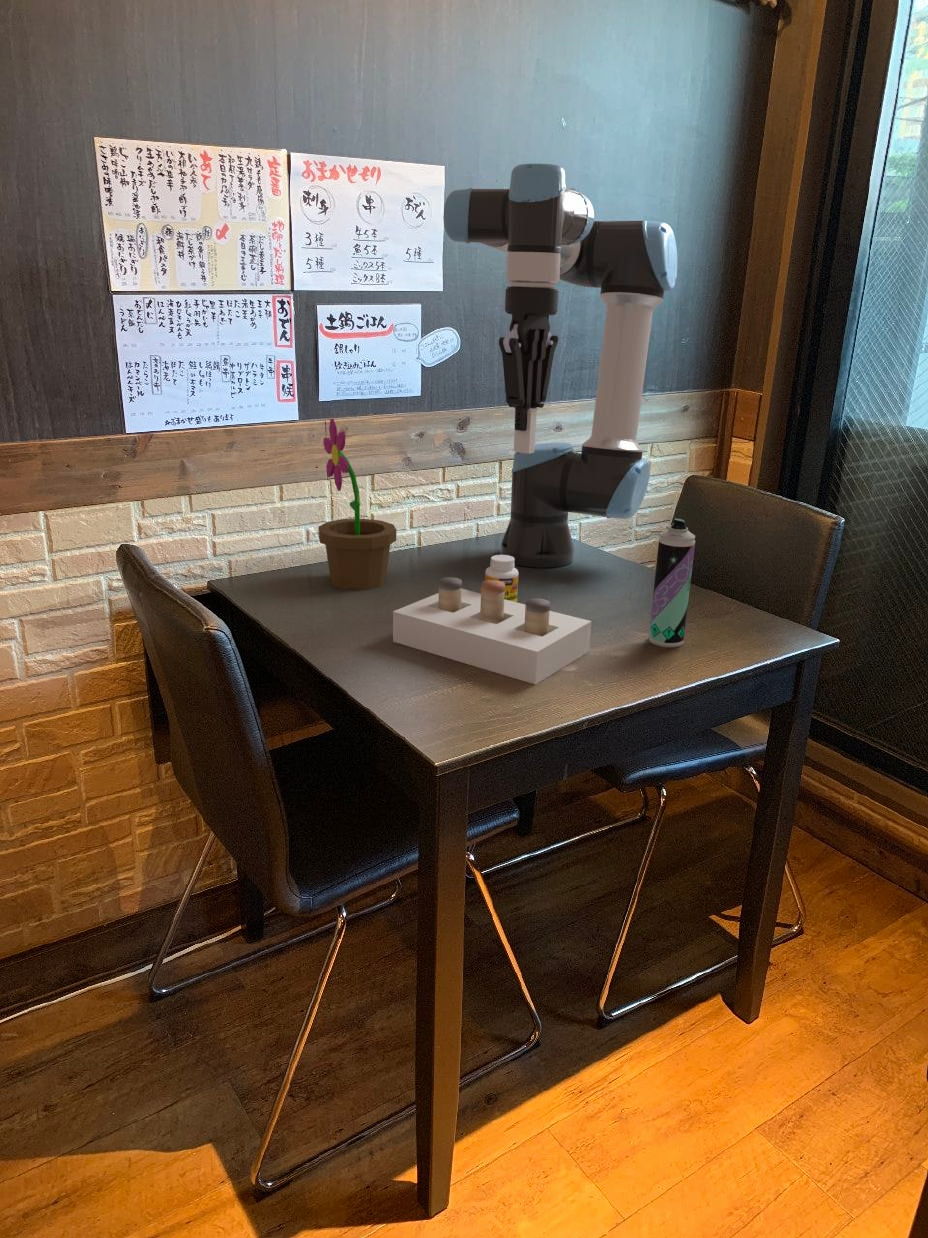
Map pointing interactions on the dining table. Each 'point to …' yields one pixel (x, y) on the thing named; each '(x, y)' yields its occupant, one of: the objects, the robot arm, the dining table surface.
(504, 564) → the supplement bottle
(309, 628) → the dining table surface
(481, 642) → the socket board
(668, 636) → the spray can
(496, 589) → the plug
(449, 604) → the plug
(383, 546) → the flowerpot
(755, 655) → the dining table surface
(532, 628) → the plug
